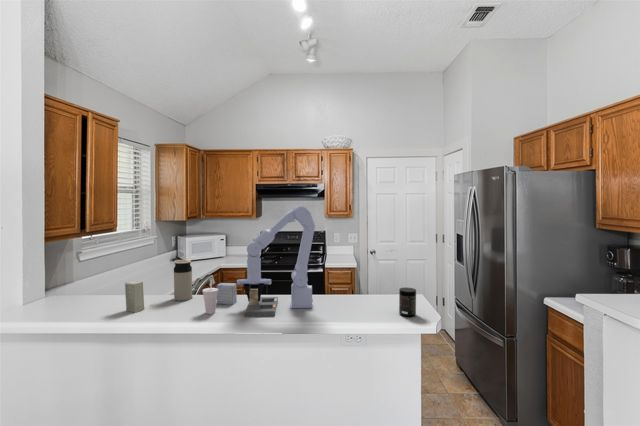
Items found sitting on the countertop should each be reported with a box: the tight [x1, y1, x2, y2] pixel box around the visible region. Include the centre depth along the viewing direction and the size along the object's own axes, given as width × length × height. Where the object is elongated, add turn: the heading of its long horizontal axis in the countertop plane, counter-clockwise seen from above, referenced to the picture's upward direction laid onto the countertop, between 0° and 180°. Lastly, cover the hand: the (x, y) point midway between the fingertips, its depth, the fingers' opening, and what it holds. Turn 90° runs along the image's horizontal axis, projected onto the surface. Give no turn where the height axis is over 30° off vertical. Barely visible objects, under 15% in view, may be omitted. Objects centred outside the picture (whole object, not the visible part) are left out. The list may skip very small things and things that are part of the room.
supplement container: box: [398, 287, 417, 318], centre depth 141 cm, size 7×7×10 cm
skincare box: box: [124, 280, 145, 313], centre depth 147 cm, size 6×4×12 cm
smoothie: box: [202, 278, 218, 315], centre depth 144 cm, size 6×6×14 cm
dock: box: [244, 296, 279, 317], centre depth 150 cm, size 12×20×2 cm, turn 3°
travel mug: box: [173, 259, 193, 302], centre depth 164 cm, size 8×8×18 cm
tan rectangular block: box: [250, 288, 259, 305], centre depth 150 cm, size 4×4×6 cm
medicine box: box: [216, 282, 238, 305], centre depth 158 cm, size 8×4×9 cm, turn 84°
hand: (254, 300), depth 150 cm, fingers closed on tan rectangular block, 3 cm apart
